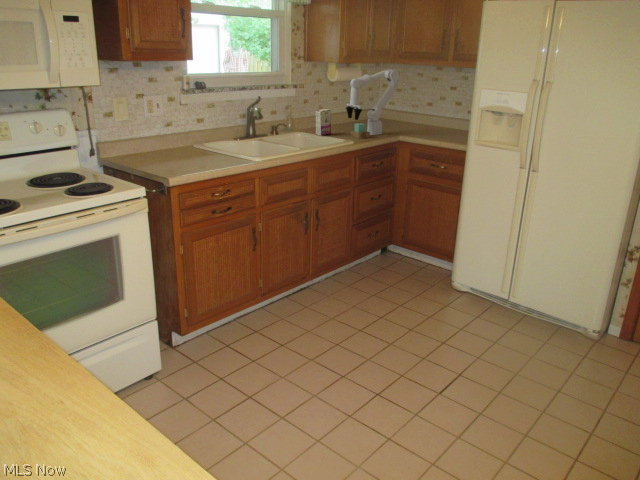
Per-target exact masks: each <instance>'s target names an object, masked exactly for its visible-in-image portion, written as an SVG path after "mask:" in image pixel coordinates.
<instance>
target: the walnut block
mask: <svg viewBox="0 0 640 480" xmlns="http://www.w3.org/2000/svg"><path fill="white" fill-rule="evenodd" d="M349 137H350V138H352V139H353V138H354V139H357V140H359V139H369V138H370V137H371V135H370V132H367V131H366V130H365V132H359V133H358V132H355V131H354V130H351V131H350V136H349Z"/></svg>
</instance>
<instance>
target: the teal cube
mask: <svg viewBox="0 0 640 480" xmlns="http://www.w3.org/2000/svg"><path fill="white" fill-rule="evenodd" d="M353 131H355V132H358V133H359V132H365V131H366V123H361V122H360V123H354V130H353Z"/></svg>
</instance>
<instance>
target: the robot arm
mask: <svg viewBox="0 0 640 480" xmlns="http://www.w3.org/2000/svg"><path fill="white" fill-rule="evenodd" d="M381 78H386V80H387V82H388V87H387V88H386V90H384V92H383V94H381V96H380V98H379V99H378V101H377V103H376V104H375V105H373V106H372V108H370V109H369V110H368V111H367V113H366V116H367V117H366V118H367V125H366V126H367V127H366V128H367V129H366V130H367V132H370V136H377V135H383V133H382V132H383V123H382V121H381V120H380V118H381V114H382V112H383V109H384V108H385V106H386V105H387V103H388V102H389V100H390V98H391V97H392V96H393V94H394V93H395V92H396V90H397V88H398V86H399V80H400V79H401V77H400V73H399V71H398V70H397V69H391V68H389V69H385V70H382V71H379V72H376V73H374V74H371V75H370V74H366V73H365V74H363V75H362V76H357V78H352V79H351V81H350V82H349V85H350V96H349V97H350V99H349V103H346V106H345V110H346V112H347V118H348V119H352V117H353V112H354V120H355V121H358V120H359V118H360V115H361V114H362V111H363V109H362V107H363V106H362V105H360V93H361V91H360V90H361V89H360V88H361V87H363V86H366V85H369V84H371V83H372V82H373V81H375V80H378V79H381Z"/></svg>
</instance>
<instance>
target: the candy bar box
mask: <svg viewBox="0 0 640 480" xmlns="http://www.w3.org/2000/svg"><path fill="white" fill-rule="evenodd" d="M316 134H317V135H325V136H327V135H326V134H329V135H331V134H332V109H331V108H324V109H318V110H315V135H316Z"/></svg>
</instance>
